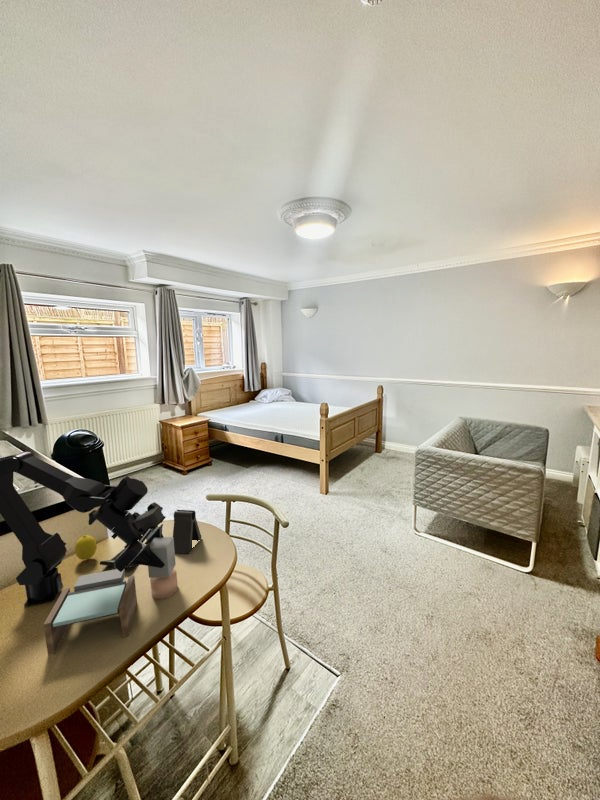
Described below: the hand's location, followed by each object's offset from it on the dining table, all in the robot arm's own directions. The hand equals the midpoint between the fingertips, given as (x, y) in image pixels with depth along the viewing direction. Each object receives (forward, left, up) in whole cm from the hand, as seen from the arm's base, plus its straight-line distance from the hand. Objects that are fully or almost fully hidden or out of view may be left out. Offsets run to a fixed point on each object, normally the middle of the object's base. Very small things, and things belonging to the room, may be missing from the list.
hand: (167, 559), depth 87 cm
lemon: (-25, +22, -9) cm, 35 cm away
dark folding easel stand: (+4, +20, -9) cm, 22 cm away
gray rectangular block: (-1, 0, -3) cm, 3 cm away
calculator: (-13, +18, -9) cm, 24 cm away
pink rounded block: (-1, 0, -9) cm, 9 cm away
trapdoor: (-15, -6, -3) cm, 17 cm away
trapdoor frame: (-15, -8, -9) cm, 19 cm away
